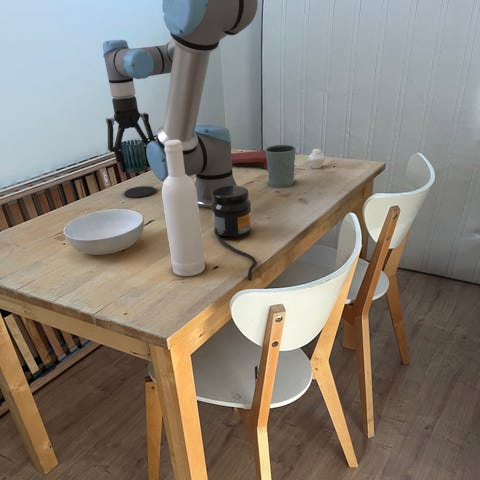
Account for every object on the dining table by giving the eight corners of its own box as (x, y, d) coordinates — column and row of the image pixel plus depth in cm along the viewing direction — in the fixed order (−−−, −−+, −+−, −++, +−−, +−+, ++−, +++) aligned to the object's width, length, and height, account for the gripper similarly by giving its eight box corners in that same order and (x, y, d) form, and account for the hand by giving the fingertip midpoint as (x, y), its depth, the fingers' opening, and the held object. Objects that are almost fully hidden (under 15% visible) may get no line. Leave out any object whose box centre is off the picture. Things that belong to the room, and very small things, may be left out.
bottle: (173, 263, 121) (155, 138, 105) (204, 260, 121) (191, 135, 105) (172, 278, 114) (152, 147, 98) (205, 275, 115) (191, 144, 98)
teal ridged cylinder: (119, 169, 166) (141, 164, 170) (129, 174, 161) (152, 169, 165) (114, 142, 161) (136, 137, 165) (124, 146, 156) (148, 141, 160)
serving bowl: (82, 233, 141) (77, 210, 137) (153, 230, 140) (150, 207, 136) (58, 265, 124) (51, 240, 120) (139, 262, 123) (134, 237, 119)
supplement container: (260, 232, 135) (258, 189, 128) (233, 244, 129) (230, 200, 122) (233, 223, 141) (230, 182, 134) (206, 234, 135) (202, 192, 128)
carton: (212, 173, 196) (266, 170, 182) (210, 161, 193) (264, 157, 180) (228, 165, 204) (281, 161, 191) (226, 153, 202) (279, 149, 189)
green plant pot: (301, 183, 168) (301, 147, 161) (278, 190, 163) (277, 153, 157) (283, 177, 175) (282, 142, 168) (260, 183, 171) (259, 148, 164)
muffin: (306, 165, 185) (307, 147, 182) (322, 164, 186) (323, 145, 182) (310, 170, 180) (310, 151, 176) (326, 169, 181) (327, 149, 177)
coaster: (160, 193, 167) (159, 192, 167) (130, 200, 163) (129, 198, 163) (149, 185, 175) (149, 184, 175) (120, 191, 171) (120, 190, 171)
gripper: (151, 91, 159) (161, 161, 172) (87, 99, 151) (102, 172, 164) (159, 93, 154) (169, 165, 166) (93, 102, 146) (108, 177, 158)
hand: (136, 168), depth 165 cm, fingers closed on teal ridged cylinder, 8 cm apart
